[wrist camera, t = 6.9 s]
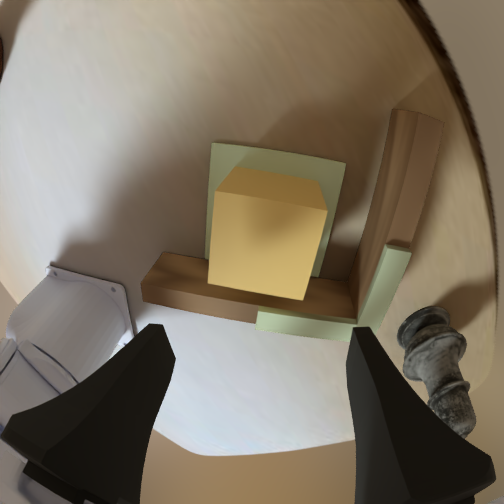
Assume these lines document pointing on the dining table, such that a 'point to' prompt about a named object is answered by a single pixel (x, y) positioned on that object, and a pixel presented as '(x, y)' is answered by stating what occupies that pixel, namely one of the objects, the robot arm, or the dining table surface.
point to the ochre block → (265, 232)
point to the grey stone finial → (438, 365)
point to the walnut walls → (318, 289)
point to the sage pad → (282, 163)
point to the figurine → (0, 54)
